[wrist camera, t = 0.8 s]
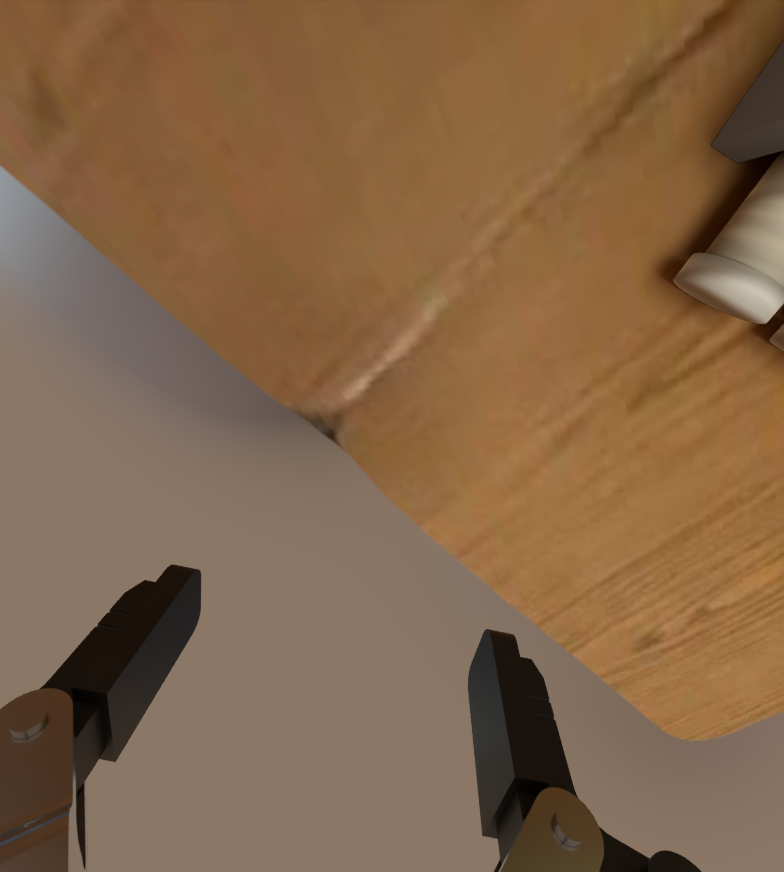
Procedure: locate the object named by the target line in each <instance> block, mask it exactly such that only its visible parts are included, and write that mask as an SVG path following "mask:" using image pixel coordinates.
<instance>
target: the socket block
mask: <svg viewBox="0 0 784 872" xmlns="http://www.w3.org/2000/svg"><path fill="white" fill-rule="evenodd" d="M710 146H712V147H713V148H715V149H716V150H718V151H719V152H721V153H722V154H724V155H726V156H727V157H729V158H730V159H732V160H733V161H735V162H736V163H739V162H743V161H747V160H750V159H754V158H758V157H761V156H765V155H768V154H772V153H776V152H779V151H783V150H784V40H783V42H782V43H781V44H780V46H779V47H778V49H777V50H776V52H775V53H774V55H773V56H772V57H771V59H770V60H769V62H768V63H767V65H766V66H765V67H764V69H763V70H762V72H761V73H760V75H759V76H758V78H757V79H756V80H755V82H754V83H753V85H752V86H751V88H750V89H749V90H748V92H747V93H746V95H745V96H744V98H743V99H742V101H741V102H740V103H739V105H738V106H737V108H736V109H735V111H734V112H733V114H732V115H731V116H730V118H729V119H728V121H727V122H726V124H725V125H724V126H723V128H722V129H721V131H720V132H719V134H718V135H717V137H716V138H715V139H714V141H713V142H712V144H711V145H710Z"/></svg>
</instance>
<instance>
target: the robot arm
mask: <svg viewBox="0 0 784 872" xmlns="http://www.w3.org/2000/svg"><path fill="white" fill-rule="evenodd" d="M200 610H201V572H200V570H198V569H193V568H188V567H183V566H178V565H170V566H169V567H167V569H166V570H165V571H164V572H163V574H162V575H161V576H160V577H159V578H158V580H157V581H156V582H151V581H147V580H144V581H143V582H141V583H140V584H138V585H136V586H135V587H133V588H132V589H130V590H129V591H127V592H125V593H124V594H123V595H122V597H121V598H120V599H119V600H118V601H117V602H116V603H115V605H114V606H113V607H112V608H111V609H110V612H109V613H107V614H106V615H105V616H104V617H103V618H102V620H101V621H100V622H99V623H98V626H97V627H95V628H94V629H93V630H92V631H91V632H90V633H89V635H88V636H87V637H86V638H85V639H84V640H83V641H82V643H81V644H80V645H79V646H78V647H77V648H76V649H75V651H74V652H73V653H72V654H71V655H70V656H69V658H68V659H67V660H66V661H65V662H64V663H63V665H62V666H61V667H60V668H59V669H58V670H57V671H56V673H55V674H54V675H53V676H52V677H51V678H50V679H49V680H48V681H47V682H46V684H45V685H44V686H43V687H41V688H40V689H39V690H35V691H31V692H29V693H26V694H23V695H22V696H19V697H17V698H15V699H14V700H12V701H11V702H9V703H8V704H6V705H5V706H4V707H3V708H1V709H0V872H88V833H87V789H86V788H87V787H86V779H87V777H88V775H89V774H90V772H91V771H92V769H93V768H94V766H95V764H96V763H97V761H98V760H99V759H103V760H108V761H113V762H116V760H117V759H118V757H119V755H120V753H121V752H122V750H123V749H124V747H125V745H126V744H127V742H128V740H129V738H130V737H131V735H132V734H133V732H134V730H135V729H136V727H137V725H138V724H139V722H140V720H141V719H142V717H143V715H144V714H145V712H146V710H147V709H148V707H149V705H150V704H151V702H152V700H153V699H154V697H155V695H156V694H157V692H158V690H159V689H160V687H161V685H162V684H163V682H164V681H165V679H166V677H167V676H168V674H169V672H170V671H171V669H172V667H173V665H174V664H175V662H176V661H177V659H178V657H179V656H180V654H181V652H182V651H183V649H184V647H185V645H186V644H187V642H188V641H189V639H190V637H191V636H192V634H193V632H194V630H195V628H196V625H197V623H198V620H199V616H200ZM468 693H469V703H470V713H471V723H472V734H473V744H474V754H475V764H476V774H477V785H478V795H479V805H480V815H481V825H482V835H483V836H487V837H492V838H497V839H498V844H499V852H500V859H499V860H498V862H497V864H496V866H495V868H494V870H493V872H701V871H700V870H699V869H698V868H697V867H696V866H695V865H694V864H692V862H690V861H689V860H687V859H686V858H685V857H683V856H681V855H679V854H677V853H674V852H671V851H659V852H657V853H655V854H654V855H653V856H652V857H651V858H650V859H649V858H647V857H646V856H644V855H643V854H641V853H639V852H637V851H636V850H634V849H632V848H630V847H629V846H627V845H625V844H624V843H622V842H620V841H618V840H617V839H615V838H613V837H612V836H610V835H609V834H607V833H606V832H605V831H604V830H602V829H601V828H600V827H599V826H598V824H597V822H596V820H595V818H594V816H593V815H592V813H591V812H590V810H589V809H588V808H587V807H586V806H585V804H584V803H583V802H582V801H581V800H579V799H578V797H577V795H576V792H575V790H574V786H573V783H572V779H571V776H570V772H569V768H568V765H567V761H566V757H565V754H564V751H563V747H562V743H561V739H560V736H559V732H558V729H557V725H556V722H555V720H554V714H553V710H552V707H551V703H549V696H548V692H547V689H546V685H545V681H544V678H543V677H542V675H541V674H540V672H539V671H538V669H537V667H536V666H535V664H534V663H533V661H532V660H531V659H528V658H523V657H520V654H519V650H518V645H517V641H516V638H515V636H514V635H513V634H509V633H504V632H498V631H493V630H489V629H486V630H485V631H484V633H483V636H482V638H481V641H480V643H479V646H478V648H477V651H476V653H475V656H474V658H473V661H472V664H471V666H470V670H469V677H468Z"/></svg>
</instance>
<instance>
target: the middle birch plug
mask: <svg viewBox="0 0 784 872" xmlns="http://www.w3.org/2000/svg"><path fill="white" fill-rule="evenodd" d="M769 341H770V342H771V343H772V344H773V345H774V346H776V347H777V348H779V349H780V350H782V351H783V352H784V323H783V325H782V326H781V327H780V328H779V329H778V330H777V331H776V332H775V334H774V335H773V336H772V337H771V338H770V339H769Z"/></svg>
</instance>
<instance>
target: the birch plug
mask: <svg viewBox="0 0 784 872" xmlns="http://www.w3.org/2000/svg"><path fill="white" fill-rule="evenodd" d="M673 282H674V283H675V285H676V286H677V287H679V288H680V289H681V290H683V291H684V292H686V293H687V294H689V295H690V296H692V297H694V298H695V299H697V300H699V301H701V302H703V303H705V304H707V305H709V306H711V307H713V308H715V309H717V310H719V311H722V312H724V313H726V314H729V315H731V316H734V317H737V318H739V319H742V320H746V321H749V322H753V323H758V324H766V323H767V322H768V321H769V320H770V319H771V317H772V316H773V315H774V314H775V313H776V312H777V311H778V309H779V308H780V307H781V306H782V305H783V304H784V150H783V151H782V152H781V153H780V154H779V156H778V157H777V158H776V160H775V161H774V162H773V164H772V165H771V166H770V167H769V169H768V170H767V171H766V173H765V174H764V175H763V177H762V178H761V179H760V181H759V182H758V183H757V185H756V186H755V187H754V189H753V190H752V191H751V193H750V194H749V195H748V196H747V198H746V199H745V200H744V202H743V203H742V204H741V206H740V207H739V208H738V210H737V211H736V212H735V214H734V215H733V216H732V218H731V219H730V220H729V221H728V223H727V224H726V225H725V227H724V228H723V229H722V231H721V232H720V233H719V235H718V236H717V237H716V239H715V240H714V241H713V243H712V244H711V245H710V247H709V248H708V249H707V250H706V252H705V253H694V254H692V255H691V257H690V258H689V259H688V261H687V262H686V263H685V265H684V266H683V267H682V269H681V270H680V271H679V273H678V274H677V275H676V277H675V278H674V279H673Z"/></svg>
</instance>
